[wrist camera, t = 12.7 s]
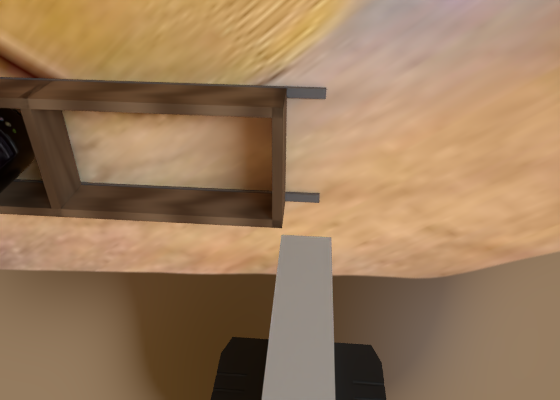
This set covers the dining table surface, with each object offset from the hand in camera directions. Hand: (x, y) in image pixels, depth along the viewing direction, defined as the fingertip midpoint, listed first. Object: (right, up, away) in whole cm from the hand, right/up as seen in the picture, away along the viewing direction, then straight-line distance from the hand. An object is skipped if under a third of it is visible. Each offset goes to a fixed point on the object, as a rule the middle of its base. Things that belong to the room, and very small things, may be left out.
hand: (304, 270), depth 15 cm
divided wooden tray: (-15, +7, +25) cm, 30 cm away
